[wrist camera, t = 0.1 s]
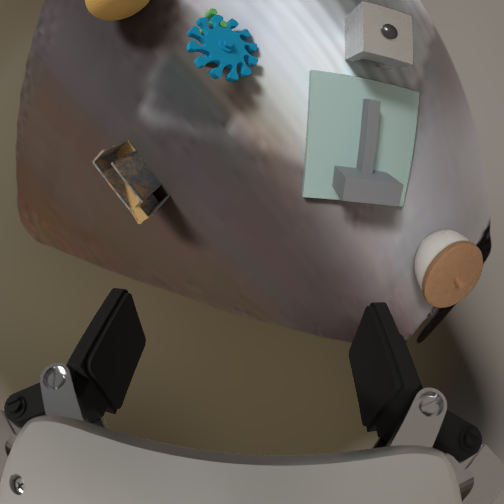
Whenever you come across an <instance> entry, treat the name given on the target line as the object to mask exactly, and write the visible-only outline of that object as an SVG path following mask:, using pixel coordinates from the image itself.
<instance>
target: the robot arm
mask: <svg viewBox="0 0 504 504" xmlns="http://www.w3.org/2000/svg"><path fill="white" fill-rule="evenodd" d="M145 341H146V339H145V335H144V332H143V330H142V326H141V323H140V321H139V317H138V314H137V311H136V308H135V305H134V301H133V298H132V295H131V294H130V293H128V291H127V290H126V289H118V288H114V289H112V290H111V292H110V293H109V295H108V296H107V298H106V299H105V301H104V302H103V304H102V305H101V307H100V309H99V310H98V312H97V313H96V315H95V316H94V318H93V320H92V321H91V323H90V325H89V326H88V328H87V330H86V331H85V333H84V335H83V336H82V338H81V340H80V341H79V343H78V345H77V346H76V348H75V350H74V352H73V354H72V355H71V357H70V359H69V361H68V363H67V365H66V366H65V365H64V364H61V363H54V364H51V365H49V366H48V367H46V368H45V369H44V371H43V372H42V374H41V377H40V383H38V384H35V385H33V386H31V387H28V388H26V389H24V390H21V391H19V392H17V393H14V394H12V395H11V396H10V397H9V398H8V399H7V401H6V403H5V407H4V408H5V411H3V410H0V504H492V503H493V501H494V500H495V498H496V497H497V496H498V494H499V493H500V491H501V490H502V488H503V486H504V465H503V463H502V462H501V461H500V460H499V459H498V458H497V457H496V455H495V454H494V453H493V452H492V451H491V450H490V449H489V447H488V446H487V445H486V444H485V445H482V436H481V433H480V431H479V430H478V428H477V427H475V426H474V425H472V424H470V423H469V422H467V421H465V420H463V419H462V418H460V417H458V416H456V415H455V414H453V413H452V412H450V411H448V410H447V401H446V399H445V397H444V395H443V394H442V393H441V392H439V391H438V390H437V389H434V388H425V389H423V388H422V385H421V382H420V379H419V376H418V374H417V371H416V368H415V366H414V363H413V360H412V358H411V355H410V353H409V350H408V348H407V345H406V343H405V340H404V338H403V336H402V335H401V334H399V331H398V329H397V327H396V324H395V322H394V320H393V317H392V315H391V313H390V311H389V308H388V306H387V304H386V303H385V302H382V303H371V304H370V306H367V307H366V309H365V311H364V314H363V317H362V319H361V322H360V325H359V327H358V330H357V333H356V335H355V338H354V340H353V343H352V345H351V347H350V350H349V359H350V364H351V368H352V373H353V378H354V382H355V387H356V392H357V397H358V402H359V407H360V413H361V419H362V423H363V425H364V426H367V432H370V431H377V434H378V437H379V438H378V439H377V441H376V443H375V444H374V446H373V447H372V449H365V450H357V451H349V452H339V453H327V454H313V455H251V454H250V455H249V454H236V453H224V452H215V451H207V450H200V449H193V448H187V447H180V446H175V445H170V444H165V443H160V442H155V441H151V440H147V439H143V438H139V437H135V436H132V435H128V434H124V433H121V432H117V431H113V430H110V429H108V427H107V425H106V423H105V420H104V418H103V416H104V413H105V411H107V412H109V413H113V414H116V411H117V409H120V408H121V406H122V404H123V401H124V398H125V395H126V393H127V390H128V387H129V385H130V382H131V379H132V377H133V374H134V371H135V369H136V367H137V364H138V361H139V359H140V356H141V354H142V351H143V349H144V347H145Z"/></svg>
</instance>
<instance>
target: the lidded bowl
mask: <svg viewBox="0 0 504 504" xmlns="http://www.w3.org/2000/svg"><path fill="white" fill-rule="evenodd" d="M482 267H483V257H482V253H481V251H480V249H479V248H478V247H477V246H476V245H475V244H474V243H472V242H471V241H470V240H469V239H467V238H466V237H465V236H463V235H462V234H460V233H458V232H456V231H452V230H439V231H436V232H434V233H431V234H429V235H428V236H426V237H425V238H424V239H423V240H422V242H421V243H420V245H419V247H418V250H417V252H416V256H415V261H414V271H415V276H416V279H417V282H418V284H419V287H420V289H421V290H422V292H423V295H424V297H425V299H426V300H427V302H428V303H429V304H430V305H432V306H434V307H438V308H443V307H448V306H451V305H454V304H456V303H457V302H459V301H460V300H462V299H463V298H464V297H466V296H467V295H468V294H469V292H470V291H471V290H472V289H473V288H474V286H475V285H476V283H477V281H478V280H479V277H480V275H481V272H482Z"/></svg>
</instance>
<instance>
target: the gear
mask: <svg viewBox="0 0 504 504" xmlns="http://www.w3.org/2000/svg"><path fill="white" fill-rule="evenodd" d="M216 14H217V10H216V9H210V10H209V11H208V12H207V13H206V14H205V17H204V18H200V19H199V20H197V21H196V24H197V25H198V26H199V27H200V28H201V30H199V28H198V27H196V26H194V27H192V28H191V29H190V30H189V31H188V33H187V35H188V36H189V37H192V38H195V39H197V40H198V41H199V42H200V43H201V44H202V46H203V47H202V46H200V45H199V44H198V43H197V42H196V41H190V42H189V43H188V45H187V51H188V52H190V53H191V52H201V53H203V54H205V55H206V56H204V57H203V56H199V57H198V58H196V59H195V60H194V62H195V65H196V66H197V68H202V67H203V66H205V65H206V64H207V63H216V64H217V65H218V67H217V68H214V69H212V70H211V71H209V75H210V76H211V77H212V78H214V79H217V78H219V77H221V76H222V71H223V68H224V67H225V66H226V67H228V68H229V69H230V72H229V73H228V74H227V75H226V80H228V81H231V82H234V81H236V80H238V78H239V76H238V74H237V65H239V66H240V72H239V73H240V76H241V77H245V76H247V75H249V74H251V73H252V71H251V69H250V68H249V67H248V66H250V67H252V66H254V65H256V64H257V62H258V59H257V58H256V57H254V56H252V55H250V54H249V53H248V52H250V53H253V52H255V51H257V44H255V43H247V42H245V41H243V40H242V39H247V38H248V37H250V33H249V31H248V30H247V29H244V30H243V31H241V32H233V31H232V30H231V29H233V28H235V27H236V26H238V22H236V21H235V20H234V19H231V20H229V21H228V22H227V23H226V22H225V21H223V17H222V16H220V15H216ZM203 34H204V36H203ZM241 38H242V39H241ZM245 48H246V49H247V51H248V52H247V51H246V49H245ZM244 58H245V59H246V61H247V64H248V66H247V65H246V63H245V60H244Z"/></svg>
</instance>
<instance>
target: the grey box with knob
mask: <svg viewBox="0 0 504 504" xmlns="http://www.w3.org/2000/svg"><path fill="white" fill-rule="evenodd" d="M361 59H367V60H372V61H376V62H378V67H381V68H385V69H390V68H395V67H401V66H407V65H413V28H412V16H411V15H408V14H405V13H402V12H399V11H396V10H393V9H390V8H387V7H383V6H380V5H376V4H373V3H369V2H365V1H362V2H361V3H360V4H359V5H357V6H356V7H355V8H354V9H353V10H352V11H351V12H350V13H349V14H348V15H347V16H346V17H345V60H349V61H354V62H356V61H358V60H361Z"/></svg>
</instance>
